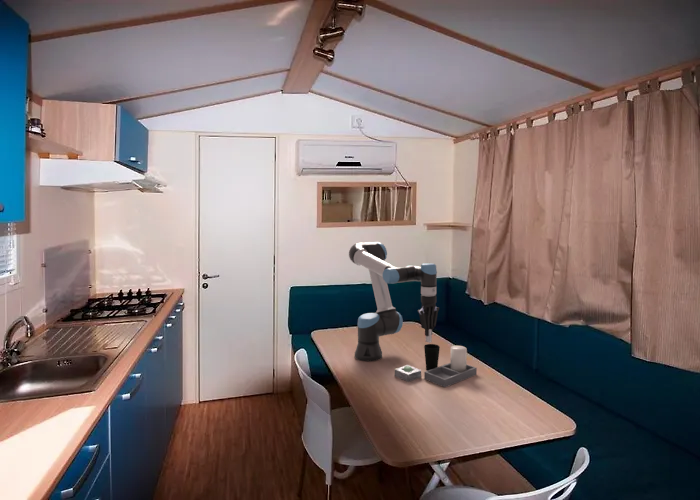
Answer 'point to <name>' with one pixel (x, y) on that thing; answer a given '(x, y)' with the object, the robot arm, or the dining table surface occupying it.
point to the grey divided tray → (448, 375)
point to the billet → (458, 358)
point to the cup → (431, 356)
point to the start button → (407, 369)
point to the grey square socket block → (407, 373)
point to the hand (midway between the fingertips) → (428, 341)
